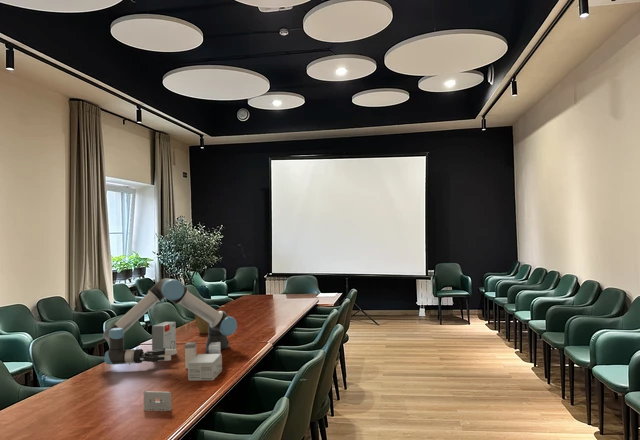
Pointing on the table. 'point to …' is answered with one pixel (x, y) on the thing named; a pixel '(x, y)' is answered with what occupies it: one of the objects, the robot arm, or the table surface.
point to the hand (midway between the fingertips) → (174, 354)
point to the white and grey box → (189, 352)
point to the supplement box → (205, 367)
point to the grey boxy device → (215, 348)
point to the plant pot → (201, 324)
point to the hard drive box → (164, 336)
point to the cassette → (157, 405)
